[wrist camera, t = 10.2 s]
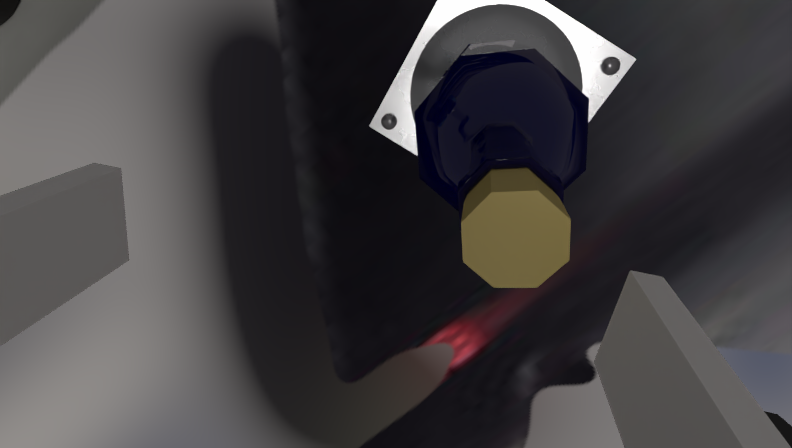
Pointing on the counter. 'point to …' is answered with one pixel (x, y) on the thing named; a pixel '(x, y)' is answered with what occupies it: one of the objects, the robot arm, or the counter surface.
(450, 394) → the counter surface
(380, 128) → the flange plate
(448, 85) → the bottle
